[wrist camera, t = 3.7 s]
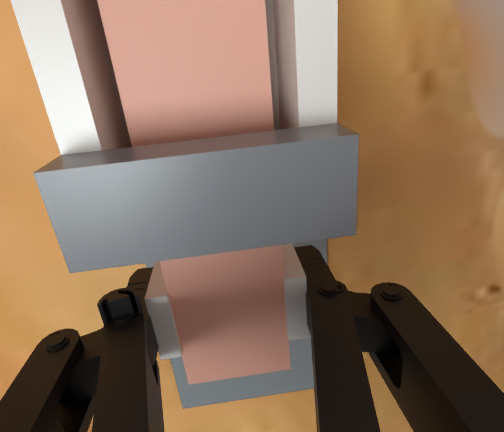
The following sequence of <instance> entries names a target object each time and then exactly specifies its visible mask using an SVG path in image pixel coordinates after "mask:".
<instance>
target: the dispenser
mask: <svg viewBox="0 0 504 432" xmlns="http://www.w3.org/2000/svg"><path fill="white" fill-rule="evenodd" d="M11 3H12V6H13V9H14V12H15V15H16V18H17V21H18V24H19V27H20V30H21V34H22V37H23V40H24V43H25V46H26V49H27V52H28V55H29V58H30V61H31V64H32V67H33V70H34V74H35V77H36V80H37V83H38V86H39V89H40V92H41V95H42V98H43V101H44V104H45V107H46V110H47V114H48V117H49V120H50V123H51V126H52V129H53V132H54V135H55V138H56V141H57V144H58V147H59V150H60V154H61V156H59V157H58V158H56V159H54V160H53V161H51V162H50V163H48V164H47V165H45V166H43V167H42V168H40V169H39V170H37V171H36V172H34V173H33V174H34V177H35V179H36V182H37V185H38V188H39V190H40V193H41V196H42V199H43V201H44V204H45V207H46V209H47V212H48V215H49V218H50V220H51V223H52V226H53V229H54V231H55V234H56V237H57V240H58V242H59V245H60V248H61V250H62V253H63V256H64V259H65V261H66V264H67V267H68V270H69V272H70V273H75V272H82V271H90V270H97V269H105V268H112V267H120V266H127V265H135V264H142V263H150V262H157V261H165V260H172V259H180V258H187V257H195V256H202V255H210V254H217V253H224V252H232V251H239V250H247V249H254V248H262V247H269V246H277V245H284V244H292V243H299V242H307V241H314V240H322V239H329V238H337V237H344V236H352V235H356V218H357V183H358V149H359V134H357V133H355V132H354V131H352V130H350V129H348V128H346V127H344V126H342V125H340V124H338V123H337V50H338V0H265V6H266V20H267V35H268V49H269V63H270V78H271V92H272V107H273V121H274V130H273V131H264V132H256V133H247V134H239V135H230V136H221V137H213V138H204V139H196V140H187V141H179V142H170V143H162V144H153V145H144V146H136V147H132V145H131V140H130V136H129V132H128V128H127V124H126V119H125V115H124V111H123V107H122V103H121V98H120V94H119V90H118V86H117V82H116V77H115V73H114V69H113V65H112V61H111V57H110V52H109V48H108V44H107V40H106V36H105V31H104V27H103V23H102V19H101V15H100V10H99V6H98V2H97V0H11Z"/></svg>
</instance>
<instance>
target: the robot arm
mask: <svg viewBox="0 0 504 432" xmlns="http://www.w3.org/2000/svg"><path fill="white" fill-rule="evenodd" d="M282 251H283V265H284V277H283V280H284V294H285V308H286V322H287V336H288V340H289V341H291V340H297V339H304V338H309V335H308V328H309V331H310V334H311V347H312V362H313V377H314V392H315V407H316V422H317V432H380V428H379V424H378V420H377V415H376V411H375V407H374V402H373V398H372V394H371V389H370V385H369V381H368V376H367V372H366V368H365V363H364V359H363V355H362V352H369V355H370V357H371V359H372V360H373V362H374V364H375V365H376V367H377V369H378V371H379V372H380V374H381V376H382V378H383V379H384V381H385V383H386V384H387V386H388V388H389V390H390V391H391V393H392V395H393V397H394V398H395V400H396V402H397V403H398V405H399V407H400V409H401V410H402V412H403V414H404V416H405V417H406V419H407V421H408V422H409V424H410V426H411V428H412V429H413V431H414V432H504V393H503V392H502V391H501V390H500V389H499V388H498V387H497V386H496V384H495V383H494V382H493V381H492V380H491V379H490V378H489V377H488V376H487V375H486V373H485V372H484V371H483V370H482V369H481V368H480V367H479V366H478V365H477V364H476V363H475V361H474V360H473V359H472V358H471V357H470V356H469V355H468V354H467V353H466V352H465V351H464V349H463V348H462V347H461V346H460V345H459V344H458V343H457V342H456V341H455V340H454V339H453V337H452V336H451V335H450V334H449V333H448V332H447V331H446V330H445V329H444V328H443V327H442V325H441V324H440V323H439V322H438V321H437V320H436V319H435V318H434V317H433V316H432V314H431V313H430V312H429V311H428V310H427V309H426V308H425V307H424V306H423V305H422V304H421V302H420V301H419V300H418V299H417V298H416V297H415V296H414V295H413V294H412V293H411V292H410V291H409V290H408V289H407V288H406V287H404V286H402V285H399V284H396V283H390V282H389V283H380V284H377V285H375V286H374V287H373V288H372V290H371V294H367V293H356V292H351V291H348V290H347V288H346V286H345V285H344V284H342V283H341V282H339V281H336V280H335V278H334V276H333V274H332V273H331V271H330V269H329V267H328V265H327V263H326V262H325V260H324V258H323V256H322V254H321V253H320V251H319V250H318V249H317V248H315V247H314V246H312V245H307V246H300V247H293V244H284V245H282ZM97 306H98V309H99V311H100V314H101V317H102V320H103V323H104V327H103V328H101V329H100V330H97V331H95V332H92V333H89V334H87V335H84V336H81V337H80V336H79V333H78V331H76V330H74V329H63V330H58V331H56V332H53V333H52V334H49V335H48V336H47V337H45V338H44V339H42V340H41V342H40V343H39V344H38V345H37V346H36V348H35V349H34V351H33V352H32V354H31V355H30V357H29V358H28V360H27V361H26V363H25V364H24V366H23V367H22V369H21V370H20V372H19V373H18V375H17V376H16V378H15V380H14V381H13V383H12V384H11V386H10V387H9V389H8V390H7V392H6V393H5V395H4V396H3V398H2V399H1V401H0V432H87V431H88V428H89V425H90V423H91V420H92V417H93V415H94V417H93V426H92V432H164V421H163V410H162V398H161V387H160V375H159V367H158V364H157V360H156V357H157V352H158V351H159V355H160V358H161V360H162V359H169V358H176V357H182V350H181V346H180V342H179V337H178V333H177V329H176V325H175V321H174V316H173V312H172V308H171V304H170V299H169V295H168V293H167V291H166V287H165V283H164V279H163V275H162V270H161V266H160V262H159V261H157V262H155V264H154V267H150V268H143V269H138V270H137V271H136V272H135V273H134V274H133V275H132V276H131V277H130V279H129V282H128V286H127V287H126V288H121V289H117V290H114V291H111V292H109V293H108V294H106V295H104V296H103V297H102V298H101V299H100V300H99V302H98V304H97Z"/></svg>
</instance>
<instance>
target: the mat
mask: <svg viewBox="0 0 504 432" xmlns="http://www.w3.org/2000/svg"><path fill="white" fill-rule="evenodd" d="M292 244H293V247H300V246H307V245H312V246H314V247H315V248H317V249H318V250H319V251H320V253H321V254H322V256H323V258H324V260H325V262H326V263H327V239H322V240H314V241H307V242H299V243H292ZM154 264H155V262H150V263H146V267H147V268H150V267H154ZM308 335H309V338H304V339H297V340H291V341H289V351H290V366H291V369H289V370H282V371H276V372H269V373H262V374H256V375H249V376H243V377H236V378H229V379H223V380H216V381H210V382H203V383H196V384H190V385H189V384H188V380H187V375H186V371H185V367H184V363H183V359H182V357H176V358H170V360H171V364H172V368H173V372H174V376H175V380H176V384H177V388H178V391H179V395H180V399H181V403H182V407H183V409H184V408H190V407H197V406H203V405H210V404H216V403H223V402H229V401H235V400H242V399H248V398H255V397H261V396H268V395H274V394H281V393H287V392H293V391H300V390H306V389H313V388H314V377H313V362H312V347H311V334H310V331H309V328H308Z"/></svg>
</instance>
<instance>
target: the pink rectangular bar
mask: <svg viewBox="0 0 504 432" xmlns="http://www.w3.org/2000/svg"><path fill="white" fill-rule="evenodd" d="M97 2H98V6H99V10H100V15H101V19H102V23H103V27H104V31H105V36H106V40H107V44H108V48H109V52H110V57H111V61H112V65H113V69H114V73H115V77H116V82H117V86H118V90H119V94H120V98H121V103H122V107H123V111H124V115H125V119H126V124H127V128H128V132H129V136H130V140H131V145H132V147H136V146H144V145H153V144H162V143H170V142H179V141H187V140H196V139H204V138H213V137H221V136H230V135H239V134H247V133H256V132H264V131H273V130H274V121H273V107H272V92H271V78H270V63H269V49H268V35H267V20H266V6H265V0H97ZM159 262H160V266H161V270H162V275H163V279H164V283H165V287H166V291H167V293H168V295H169V299H170V304H171V308H172V312H173V316H174V321H175V325H176V329H177V333H178V337H179V342H180V346H181V350H182V359H183V363H184V367H185V371H186V375H187V380H188V384H189V385H190V384H196V383H203V382H210V381H216V380H223V379H229V378H236V377H243V376H249V375H256V374H262V373H269V372H276V371H282V370H289V369H291V366H290V351H289V340H288V336H287V322H286V308H285V294H284V280H283V277H284V265H283V251H282V245H277V246H269V247H262V248H254V249H247V250H239V251H232V252H224V253H217V254H210V255H202V256H195V257H187V258H180V259H172V260H165V261H159Z"/></svg>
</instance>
